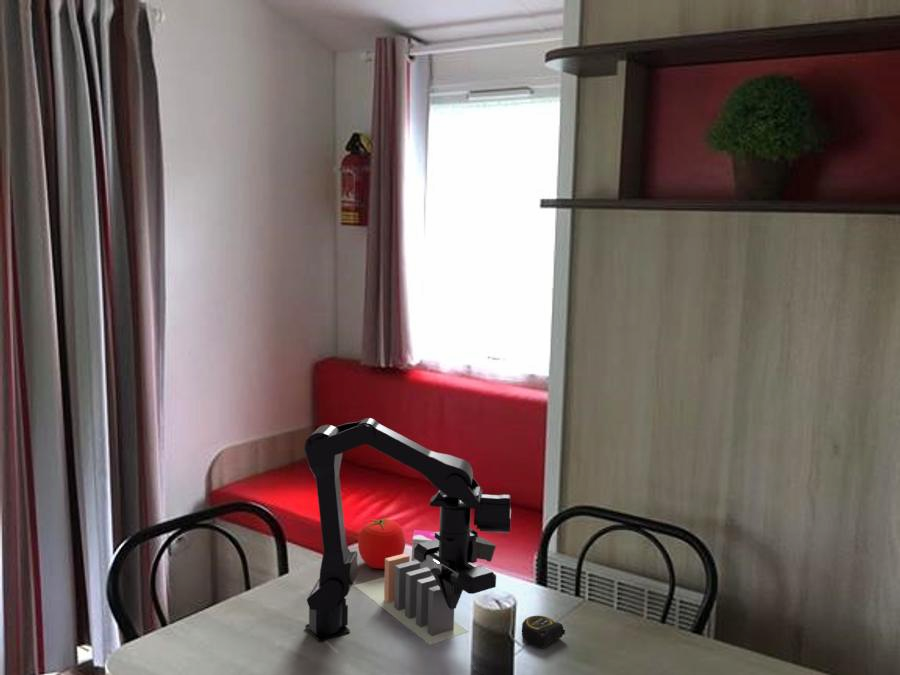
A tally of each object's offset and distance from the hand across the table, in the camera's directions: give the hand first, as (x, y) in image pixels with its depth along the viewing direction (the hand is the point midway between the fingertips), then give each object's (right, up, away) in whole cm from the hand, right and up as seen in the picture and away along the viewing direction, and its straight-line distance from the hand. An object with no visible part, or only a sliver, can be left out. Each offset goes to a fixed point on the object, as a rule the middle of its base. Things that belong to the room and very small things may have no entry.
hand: (452, 608), depth 150 cm
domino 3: (-7, -5, +10) cm, 13 cm away
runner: (-9, -4, +13) cm, 16 cm away
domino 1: (-12, -4, +17) cm, 21 cm away
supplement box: (-6, -3, +23) cm, 24 cm away
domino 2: (-9, -4, +13) cm, 17 cm away
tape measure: (+17, -7, +2) cm, 19 cm away
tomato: (-16, -2, +33) cm, 37 cm away
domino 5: (-2, -6, +4) cm, 7 cm away
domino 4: (-5, -5, +7) cm, 10 cm away
